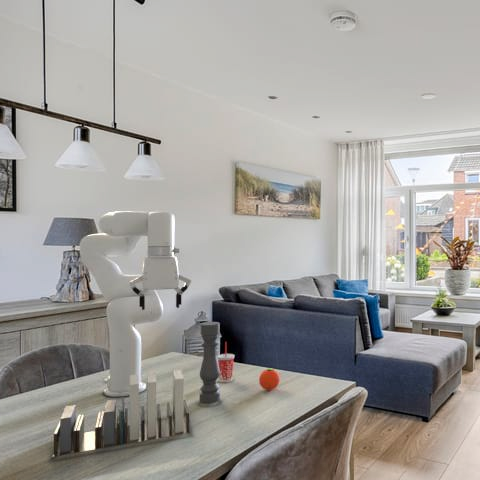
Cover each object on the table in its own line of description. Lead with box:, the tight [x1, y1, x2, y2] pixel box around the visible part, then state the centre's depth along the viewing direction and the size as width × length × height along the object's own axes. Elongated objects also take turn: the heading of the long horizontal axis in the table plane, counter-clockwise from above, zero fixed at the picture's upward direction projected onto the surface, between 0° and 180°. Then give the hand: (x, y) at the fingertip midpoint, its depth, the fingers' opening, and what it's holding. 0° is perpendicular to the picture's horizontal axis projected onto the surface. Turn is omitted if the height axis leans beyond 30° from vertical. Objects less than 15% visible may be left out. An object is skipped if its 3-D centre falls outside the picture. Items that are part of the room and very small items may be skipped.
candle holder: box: [198, 321, 221, 404], centre depth 141 cm, size 6×6×25 cm
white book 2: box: [146, 372, 157, 438], centre depth 119 cm, size 2×9×14 cm, turn 26°
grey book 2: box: [104, 399, 117, 445], centre depth 114 cm, size 2×9×8 cm, turn 26°
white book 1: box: [129, 374, 140, 441], centre depth 117 cm, size 2×9×14 cm, turn 26°
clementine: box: [258, 367, 281, 391], centre depth 155 cm, size 8×7×7 cm
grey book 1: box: [59, 404, 77, 453], centre depth 110 cm, size 2×9×8 cm, turn 26°
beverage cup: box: [216, 341, 236, 383], centre depth 164 cm, size 6×6×14 cm
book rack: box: [52, 396, 191, 458], centre depth 116 cm, size 30×12×9 cm, turn 116°
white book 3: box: [172, 369, 185, 433], centre depth 121 cm, size 2×9×14 cm, turn 26°
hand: (160, 308), depth 138 cm, fingers open, 9 cm apart
